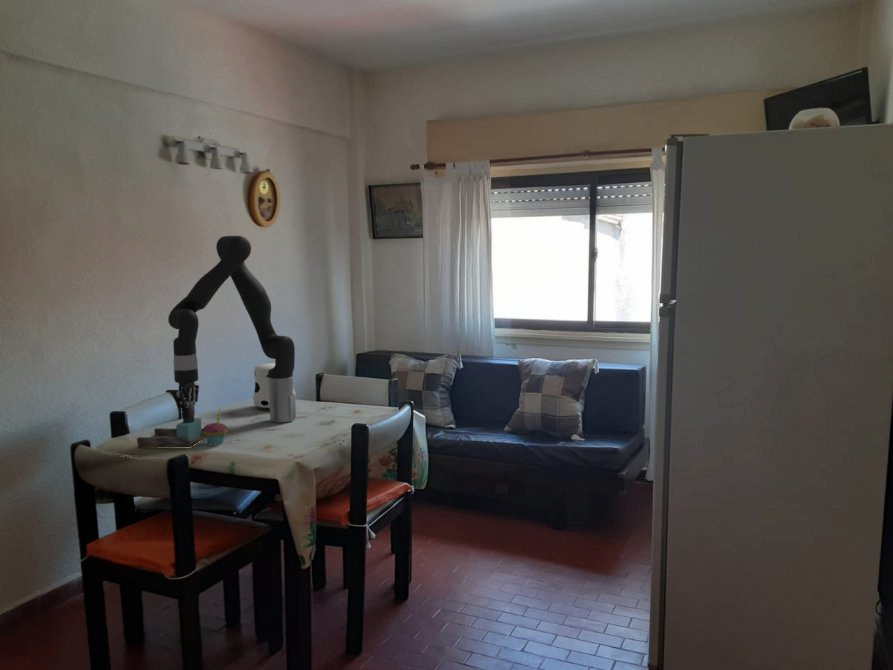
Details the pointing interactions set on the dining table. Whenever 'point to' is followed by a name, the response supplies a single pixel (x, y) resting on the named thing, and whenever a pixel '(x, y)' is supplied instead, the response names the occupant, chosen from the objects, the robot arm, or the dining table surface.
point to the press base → (166, 439)
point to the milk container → (263, 386)
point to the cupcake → (215, 432)
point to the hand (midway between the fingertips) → (188, 417)
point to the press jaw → (189, 425)
